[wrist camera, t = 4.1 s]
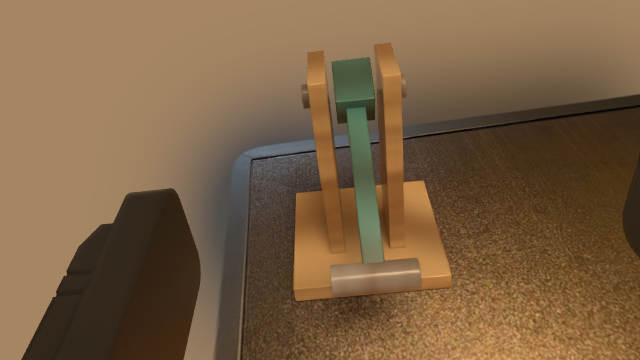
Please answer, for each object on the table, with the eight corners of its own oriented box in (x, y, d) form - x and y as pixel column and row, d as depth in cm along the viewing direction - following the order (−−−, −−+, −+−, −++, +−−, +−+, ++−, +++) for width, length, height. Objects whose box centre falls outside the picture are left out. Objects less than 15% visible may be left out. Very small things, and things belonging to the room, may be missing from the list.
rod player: (419, 293, 27) (423, 283, 25) (333, 301, 27) (330, 292, 25) (387, 78, 32) (388, 54, 30) (316, 86, 32) (312, 63, 30)
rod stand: (451, 288, 33) (461, 93, 25) (295, 301, 34) (256, 115, 26) (423, 192, 41) (424, 21, 33) (298, 204, 42) (268, 39, 34)
